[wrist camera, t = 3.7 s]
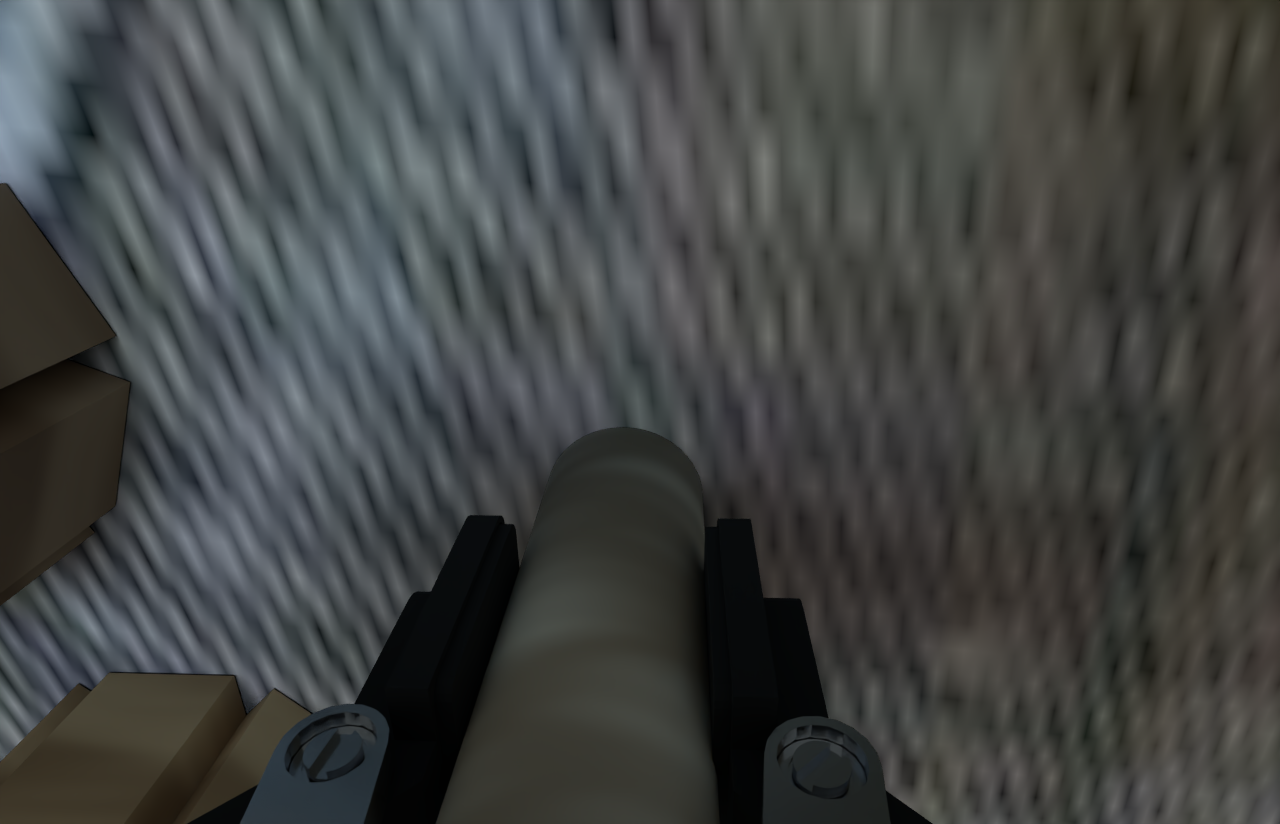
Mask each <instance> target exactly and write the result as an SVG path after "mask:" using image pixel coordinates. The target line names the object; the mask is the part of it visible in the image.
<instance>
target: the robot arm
mask: <svg viewBox="0 0 1280 824" xmlns="http://www.w3.org/2000/svg"><path fill="white" fill-rule="evenodd" d="M518 572H519V558H518V548H517V537H516V529H515V526H514V525H513V524H505V522H504V519H503V517H502V516H483V515H470V516H468V517H467V519H466V521H465V523H464V525H463V527H462V529H461V531H460V533H459V535H458V537H457V539H456V541H455V543H454V545H453V547H452V549H451V552H450V554H449V556H448V558H447V560H446V562H445V564H444V566H443V568H442V570H441V572H440V574H439V576H438V578H437V580H436V582H435V584H434V587H433V589H432V591H431V592H415V593H413V594H412V596H411V597H410V599H409V600H408V602H407V604H406V606H405V608H404V610H403V612H402V613H401V615H400V617H399V619H398V621H397V623H396V625H395V627H394V629H393V631H392V633H391V635H390V636H389V638H388V640H387V642H386V644H385V646H384V648H383V650H382V652H381V654H380V656H379V658H378V660H377V661H376V663H375V665H374V667H373V669H372V671H371V673H370V675H369V677H368V679H367V681H366V683H365V684H364V686H363V688H362V690H361V692H360V694H359V696H358V698H357V700H356V702H355V704H343V705H337V706H331V707H328V708H326V709H323V710H320V711H318V712H315V713H313V714H311V715H309V716H308V717H306V718H304V719H303V720H301V721H300V722H298V723H297V724H295V725H294V726H293V727H292V728H291V729H290V730H289V731H288V732H287V733H286V734H285V735H284V736H283V737H282V739H281V740H280V742H279V743H278V745H277V746H276V748H275V750H274V752H273V754H272V756H271V758H270V760H269V762H268V765H267V767H266V769H265V771H264V773H263V775H262V777H261V780H260V782H259V784H258V785H256V786H254V787H252V788H250V789H248V790H247V791H245V792H243V793H241V794H239V795H238V796H236V797H234V798H232V799H230V800H229V801H227V802H225V803H223V804H221V805H220V806H218V807H216V808H214V809H212V810H211V811H209V812H207V813H205V814H203V815H202V816H200V817H198V818H196V819H194V820H193V821H191V822H189V823H187V824H436V821H437V818H438V815H439V812H440V809H441V806H442V803H443V800H444V797H445V794H446V791H447V788H448V785H449V782H450V779H451V776H452V773H453V769H454V766H455V763H456V760H457V757H458V754H459V751H460V748H461V745H462V742H463V739H464V736H465V733H466V730H467V727H468V724H469V721H470V718H471V715H472V712H473V709H474V706H475V702H476V699H477V696H478V693H479V690H480V687H481V684H482V681H483V678H484V675H485V672H486V669H487V666H488V663H489V660H490V657H491V654H492V651H493V648H494V645H495V642H496V639H497V635H498V632H499V629H500V626H501V623H502V620H503V617H504V614H505V611H506V608H507V605H508V602H509V599H510V596H511V593H512V590H513V587H514V584H515V581H516V578H517V575H518ZM704 586H705V608H706V630H707V651H708V673H709V695H710V717H711V739H712V760H713V763H714V765H715V769H716V774H717V780H718V799H719V818H720V824H932V823H931V822H929V821H928V820H927V819H925V818H924V817H922V816H921V815H920V814H918V813H917V812H915V811H914V810H912V809H911V808H910V807H908V806H907V805H905V804H904V803H903V802H901V801H900V800H898V799H897V798H895V797H894V796H893V795H891V794H890V793H888V792H887V791H886V790H885V784H884V777H883V771H882V766H881V763H880V760H879V757H878V754H877V752H876V750H875V749H874V748H873V746H872V745H871V744H870V742H869V741H868V740H867V739H866V738H865V737H864V736H863V735H861V734H860V733H859V732H858V731H856V730H855V729H854V728H852V727H850V726H848V725H846V724H844V723H842V722H840V721H838V720H834V719H830V718H828V714H827V710H826V705H825V701H824V697H823V692H822V688H821V683H820V679H819V675H818V670H817V666H816V662H815V657H814V653H813V649H812V644H811V640H810V636H809V631H808V627H807V623H806V618H805V614H804V609H803V606H802V602H801V600H800V599H794V598H763V594H762V588H761V581H760V575H759V568H758V562H757V556H756V549H755V543H754V537H753V530H752V524H751V520H750V519H718V521H717V527H705V545H704Z"/></svg>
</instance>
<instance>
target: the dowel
mask: <svg viewBox="0 0 1280 824" xmlns="http://www.w3.org/2000/svg"><path fill="white" fill-rule="evenodd" d="M704 545H705V532H704V512H703V494H702V486H701V481H700V479H699V476H698V473H697V471H696V469H695V467H694V466H693V464H692V462H691V461H690V460H689V458H688V457H687V456H686V455H685V454H684V453H683V452H682V451H681V450H680V449H679V448H678V447H677V446H675V445H674V444H673V443H671V442H670V441H668V440H667V439H665V438H663V437H661V436H659V435H657V434H654V433H651V432H648V431H645V430H640V429H635V428H610V429H604V430H600V431H597V432H593V433H591V434H589V435H586V436H584V437H582V438H581V439H579V440H577V441H576V442H574V443H573V444H572V445H571V446H569V447H568V448H567V449H566V450H565V451H564V452H563V453H562V454H561V456H560V457H559V458H558V460H557V461H556V463H555V465H554V467H553V469H552V471H551V474H550V477H549V480H548V483H547V486H546V489H545V492H544V495H543V498H542V502H541V505H540V508H539V511H538V514H537V517H536V520H535V523H534V526H533V529H532V532H531V535H530V538H529V541H528V544H527V547H526V550H525V553H524V556H523V559H522V562H521V565H520V569H519V572H518V575H517V578H516V581H515V584H514V587H513V590H512V593H511V596H510V599H509V602H508V605H507V608H506V611H505V614H504V617H503V620H502V623H501V626H500V629H499V632H498V635H497V639H496V642H495V645H494V648H493V651H492V654H491V657H490V660H489V663H488V666H487V669H486V672H485V675H484V678H483V681H482V684H481V687H480V690H479V693H478V696H477V699H476V702H475V706H474V709H473V712H472V715H471V718H470V721H469V724H468V727H467V730H466V733H465V736H464V739H463V742H462V745H461V748H460V751H459V754H458V757H457V760H456V763H455V766H454V769H453V773H452V776H451V779H450V782H449V785H448V788H447V791H446V794H445V797H444V800H443V803H442V806H441V809H440V812H439V815H438V818H437V821H436V824H720V818H719V799H718V780H717V774H716V769H715V765H714V763H713V760H712V739H711V717H710V695H709V673H708V651H707V630H706V608H705V586H704Z"/></svg>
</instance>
